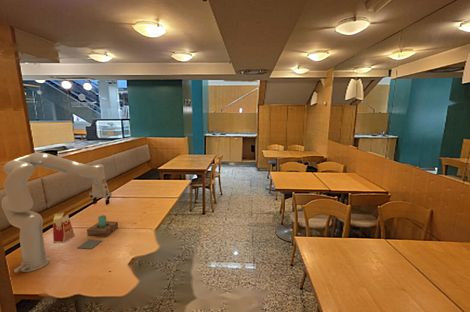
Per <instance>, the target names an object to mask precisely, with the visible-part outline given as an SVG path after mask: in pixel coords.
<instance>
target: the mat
mask: <svg viewBox="0 0 470 312" xmlns="http://www.w3.org/2000/svg"><path fill="white" fill-rule="evenodd" d="M100 243H103V240H102V239H87V240H86V241H84V242H83V243H81V244H80V245H79V246H77V247H76V248H77V249H80V250H81V249H82V250H93V249H94V248H95V247H96V246H98V245H99V244H100Z"/></svg>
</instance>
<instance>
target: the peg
mask: <svg viewBox="0 0 470 312" xmlns="http://www.w3.org/2000/svg"><path fill="white" fill-rule="evenodd" d="M97 219H98V222H99V228H104V227H106V226H107V222H106V221H107V215H104V214H103V215H100V216H97Z"/></svg>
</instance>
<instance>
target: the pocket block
mask: <svg viewBox="0 0 470 312" xmlns="http://www.w3.org/2000/svg"><path fill="white" fill-rule="evenodd" d="M106 222H107V226H106V227H104V228H99V221H98V222H97V223H95V224H93V225H92V226H90V227H88V228H87V229H86V231H87V232H86V234H87V237H95V238H108V237H109V236H110V235H111V234H112V233H113V232H115V231H116V230H118V228H119V222H118V221H111V220H110V221H109V220H106Z"/></svg>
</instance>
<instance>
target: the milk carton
mask: <svg viewBox="0 0 470 312" xmlns="http://www.w3.org/2000/svg"><path fill="white" fill-rule="evenodd" d="M53 215H54V217H53V222H52V223H53V224H52V238H53V241H52V242H53V243H61V244H65V243H66V242H68V241H70V240H72V239H73V238H75V237H76V235H75V231H74V229H73V225H72V223H71V220H70V217H69V214H67V213H65V212H59V213H54V214H53Z"/></svg>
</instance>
